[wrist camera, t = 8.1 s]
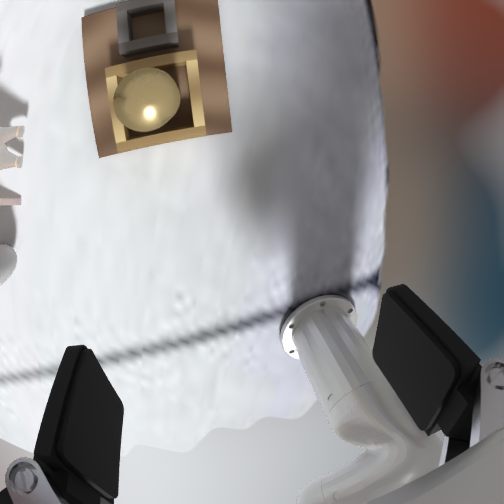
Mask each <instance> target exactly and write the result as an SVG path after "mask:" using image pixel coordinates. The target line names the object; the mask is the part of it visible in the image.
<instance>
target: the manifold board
mask: <svg viewBox="0 0 504 504" xmlns="http://www.w3.org/2000/svg"><path fill="white" fill-rule="evenodd" d="M82 37H83V51H84V62H85V72H86V81H87V89H88V96H89V103H90V110H91V116H92V123H93V128H94V134H95V139H96V145H97V150H98V155H99V158H101V157H105V156H109V155H113V154H117V153H122V152H127V151H131V150H135V149H140V148H144V147H149V146H154V145H158V144H163V143H169V142H174V141H179V140H185V139H191V138H197V137H203V136H207V135H214V134H221V133H228V132H232V126H231V117H230V109H229V100H228V91H227V82H226V73H225V63H224V54H223V45H222V36H221V27H220V17H219V8H218V0H130V1H126V2H122V3H118V4H116V7H115V8H112V9H108V10H105V11H101V12H98V13H94V14H91V15H88V16H85V17H82ZM148 67H151V68H157V69H160V70H163V71H165V72H166V73H168V74H169V75H170V76H171V77H172V78H173V80H174V81H175V83H176V85H177V87H178V89H179V91H180V95H181V104H180V107H179V109H178V111H177V113H176V114H175V115H174V116H173V117H172V118H171V119H170V120H169V121H168V122H167V123H166V124H164V125H163V126H161V127H160V128H158V129H155V130H152V131H147V132H140V131H134V130H132V129H129V128H127V127H126V126H124V125H123V124H122V123H121V122H120V121H119V119H118V118H117V116H116V114H115V111H114V107H113V98H114V93H115V90H116V88H117V86H118V85H119V83H120V82H121V80H122V79H123V78H124V77H125V76H127V75H128V74H129V73H131V72H133V71H135V70H137V69H141V68H148Z"/></svg>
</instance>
